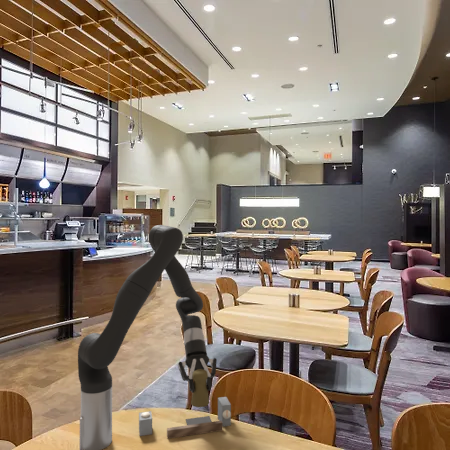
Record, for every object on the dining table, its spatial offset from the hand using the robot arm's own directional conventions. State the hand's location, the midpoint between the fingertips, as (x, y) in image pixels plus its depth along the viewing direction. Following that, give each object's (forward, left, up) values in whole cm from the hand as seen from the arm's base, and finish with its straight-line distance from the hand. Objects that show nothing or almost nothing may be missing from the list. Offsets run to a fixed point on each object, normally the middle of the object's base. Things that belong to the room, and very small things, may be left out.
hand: (201, 390), depth 123 cm
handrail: (-3, -3, -12) cm, 13 cm away
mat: (0, +2, -12) cm, 12 cm away
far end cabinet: (+8, +2, -12) cm, 15 cm away
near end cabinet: (-18, +3, -12) cm, 22 cm away
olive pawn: (0, +2, -5) cm, 5 cm away
